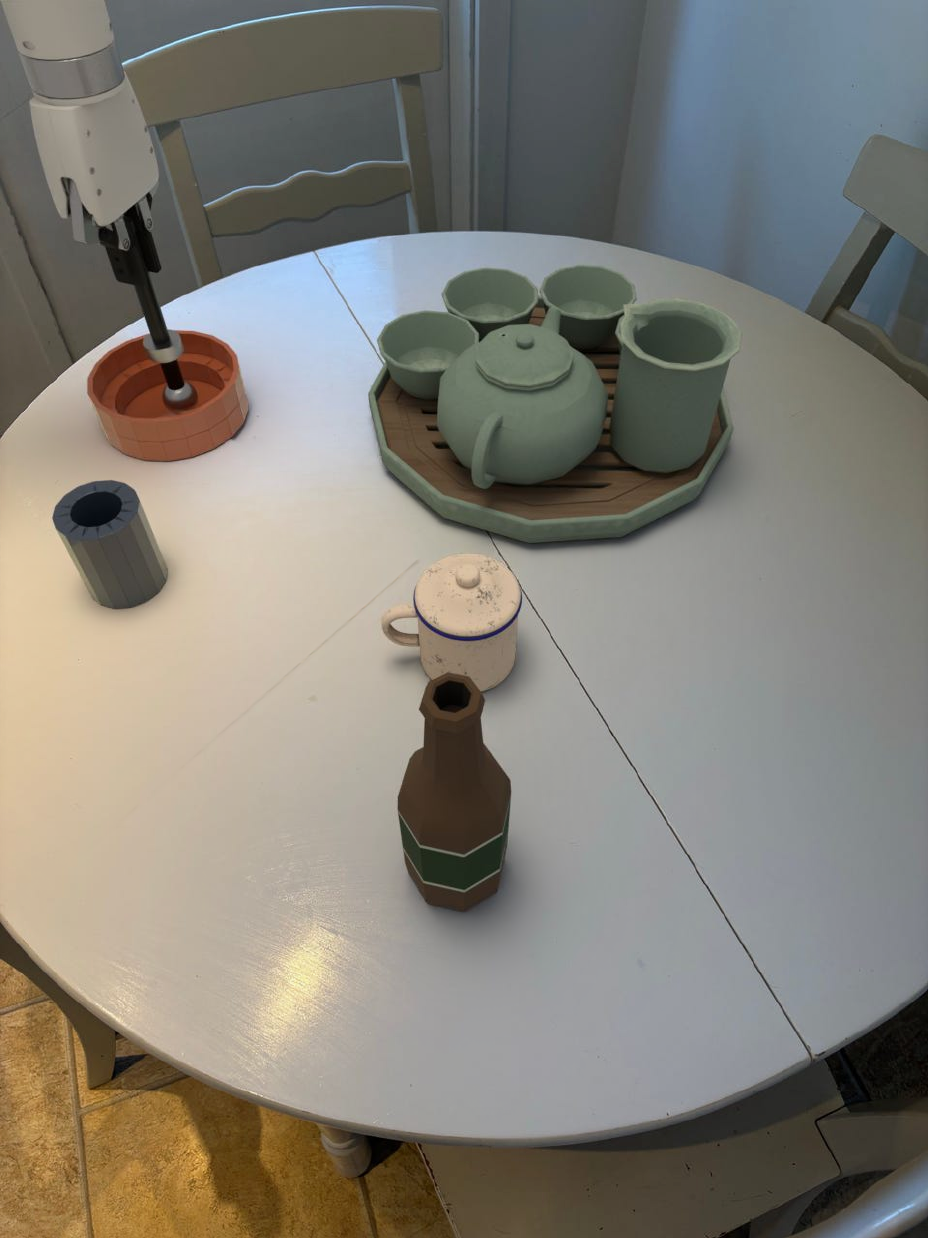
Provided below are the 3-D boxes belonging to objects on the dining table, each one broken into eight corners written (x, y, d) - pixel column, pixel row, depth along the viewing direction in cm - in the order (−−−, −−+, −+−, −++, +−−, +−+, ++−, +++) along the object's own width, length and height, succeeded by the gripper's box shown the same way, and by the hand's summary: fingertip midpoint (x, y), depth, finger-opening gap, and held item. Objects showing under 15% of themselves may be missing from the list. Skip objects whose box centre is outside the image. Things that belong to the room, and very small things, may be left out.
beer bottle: (446, 801, 72) (438, 618, 53) (526, 854, 69) (548, 681, 50) (385, 876, 68) (353, 708, 49) (468, 936, 65) (467, 782, 46)
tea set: (696, 321, 113) (726, 192, 100) (749, 554, 88) (798, 423, 75) (385, 316, 114) (375, 188, 101) (351, 546, 89) (331, 415, 76)
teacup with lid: (513, 614, 84) (518, 528, 75) (522, 695, 78) (529, 612, 69) (385, 620, 83) (375, 534, 74) (386, 702, 78) (375, 620, 69)
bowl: (75, 423, 101) (56, 380, 96) (187, 356, 109) (174, 313, 104) (166, 486, 95) (151, 442, 90) (278, 410, 102) (269, 366, 98)
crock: (75, 586, 86) (35, 513, 78) (136, 542, 90) (105, 468, 82) (122, 624, 83) (86, 552, 75) (184, 578, 87) (156, 504, 79)
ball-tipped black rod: (160, 413, 99) (93, 222, 82) (187, 396, 101) (126, 206, 84) (182, 426, 98) (118, 235, 81) (209, 409, 100) (151, 218, 82)
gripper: (91, 27, 78) (150, 230, 92) (-28, 100, 68) (58, 312, 83) (166, 38, 76) (213, 242, 91) (54, 114, 67) (127, 328, 81)
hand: (139, 274), depth 87 cm, fingers closed on ball-tipped black rod
